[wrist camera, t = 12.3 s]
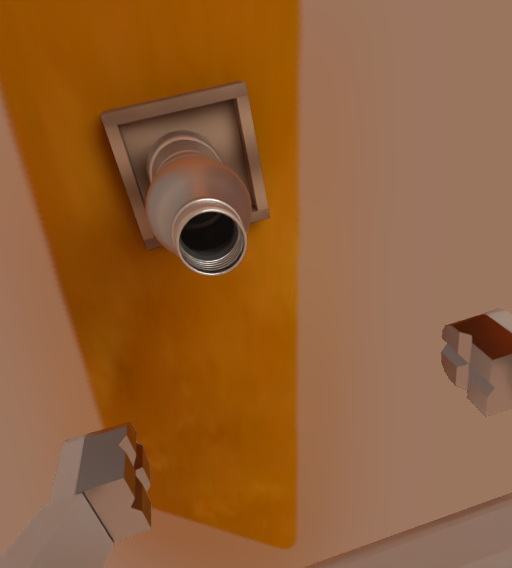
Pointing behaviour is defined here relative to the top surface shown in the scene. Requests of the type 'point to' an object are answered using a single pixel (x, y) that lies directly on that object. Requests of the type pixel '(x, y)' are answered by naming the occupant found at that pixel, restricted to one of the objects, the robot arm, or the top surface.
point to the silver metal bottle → (197, 203)
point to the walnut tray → (192, 117)
